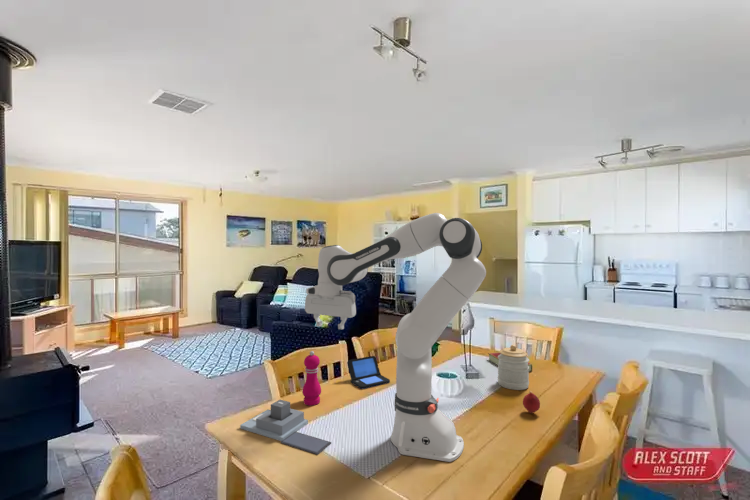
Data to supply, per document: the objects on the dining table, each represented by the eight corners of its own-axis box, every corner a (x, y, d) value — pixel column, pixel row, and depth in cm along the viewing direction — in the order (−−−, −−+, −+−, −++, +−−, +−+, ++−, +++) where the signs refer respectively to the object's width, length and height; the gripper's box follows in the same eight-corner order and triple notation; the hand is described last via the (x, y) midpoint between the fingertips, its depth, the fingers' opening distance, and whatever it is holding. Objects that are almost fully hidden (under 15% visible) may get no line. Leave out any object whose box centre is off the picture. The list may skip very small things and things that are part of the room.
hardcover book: (508, 359, 200) (508, 351, 200) (532, 372, 180) (532, 363, 180) (488, 360, 198) (488, 352, 198) (510, 374, 177) (510, 365, 177)
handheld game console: (361, 390, 156) (361, 368, 156) (346, 380, 167) (346, 360, 167) (391, 383, 165) (391, 362, 164) (374, 374, 176) (375, 354, 176)
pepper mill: (317, 407, 139) (317, 354, 139) (299, 405, 141) (299, 353, 140) (323, 399, 146) (323, 349, 146) (306, 397, 148) (306, 348, 147)
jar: (531, 383, 164) (531, 343, 164) (525, 393, 153) (526, 350, 153) (501, 377, 171) (501, 339, 171) (494, 386, 160) (494, 346, 160)
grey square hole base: (308, 423, 126) (308, 411, 126) (282, 441, 115) (282, 428, 115) (267, 412, 135) (267, 401, 134) (240, 428, 123) (240, 415, 123)
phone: (331, 445, 114) (331, 441, 114) (317, 457, 108) (317, 453, 108) (295, 434, 120) (295, 431, 120) (280, 444, 114) (280, 441, 114)
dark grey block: (290, 422, 125) (290, 401, 124) (281, 428, 121) (281, 406, 120) (279, 419, 127) (279, 399, 126) (270, 425, 123) (270, 404, 122)
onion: (540, 411, 137) (540, 389, 136) (539, 418, 131) (540, 395, 131) (523, 408, 139) (523, 387, 139) (522, 414, 134) (522, 392, 134)
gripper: (359, 290, 132) (359, 328, 133) (312, 287, 142) (312, 323, 142) (350, 292, 127) (350, 332, 127) (302, 289, 136) (302, 326, 136)
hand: (330, 327), depth 135 cm, fingers open, 8 cm apart
